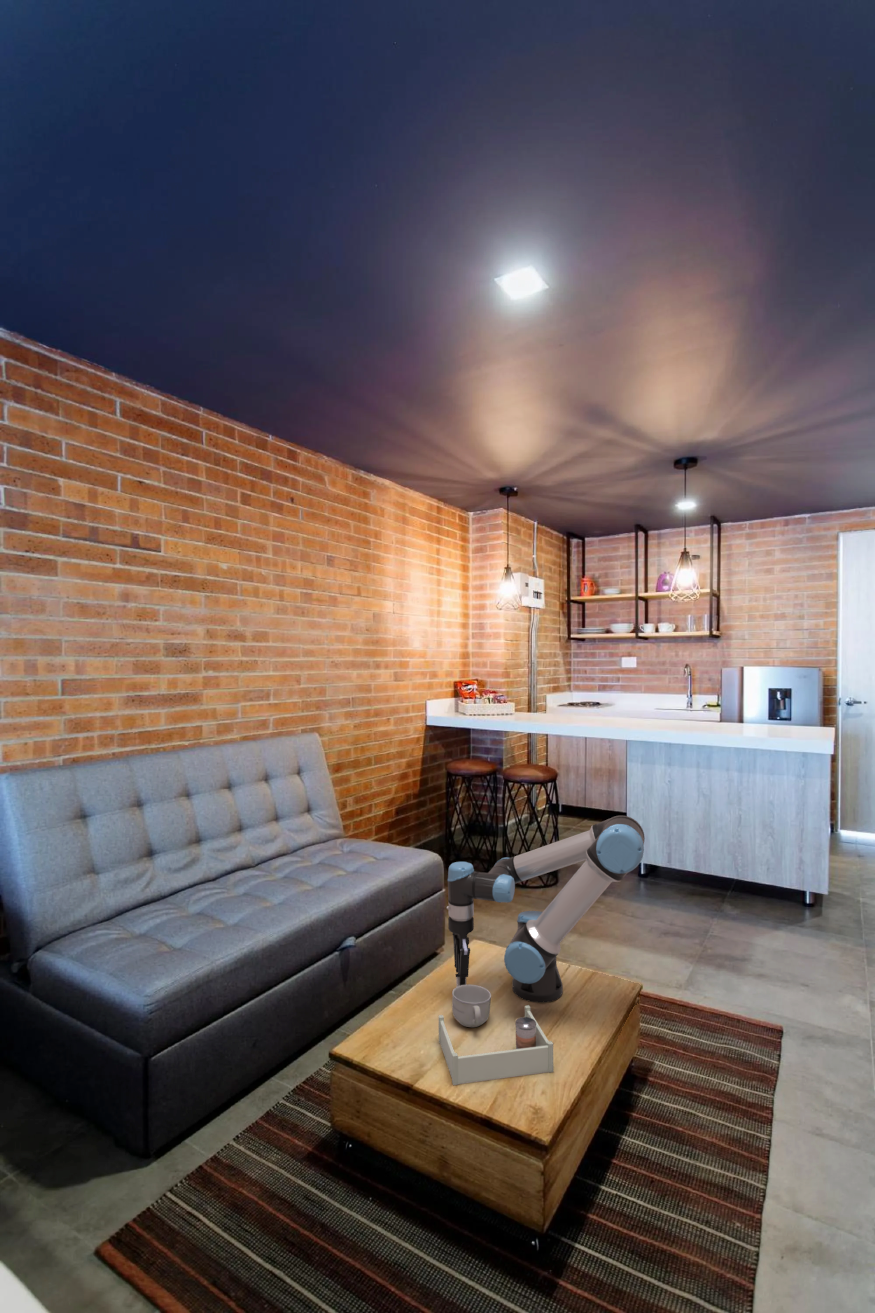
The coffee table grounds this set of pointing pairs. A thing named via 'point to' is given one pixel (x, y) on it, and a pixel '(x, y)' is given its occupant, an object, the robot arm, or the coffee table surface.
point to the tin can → (525, 1032)
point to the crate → (497, 1059)
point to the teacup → (471, 1005)
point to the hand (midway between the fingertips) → (461, 996)
